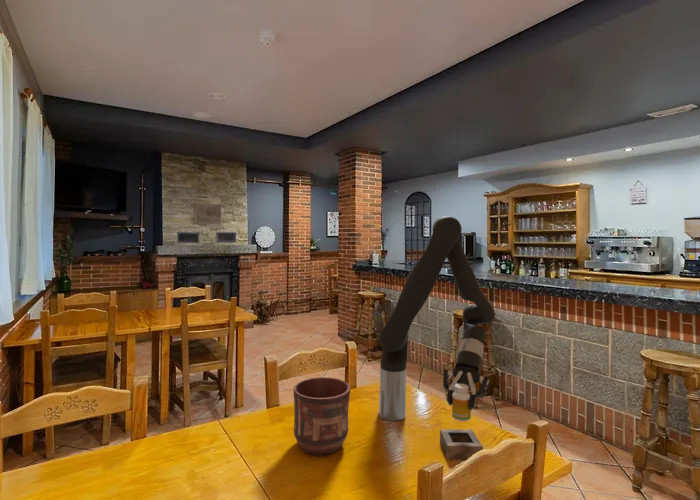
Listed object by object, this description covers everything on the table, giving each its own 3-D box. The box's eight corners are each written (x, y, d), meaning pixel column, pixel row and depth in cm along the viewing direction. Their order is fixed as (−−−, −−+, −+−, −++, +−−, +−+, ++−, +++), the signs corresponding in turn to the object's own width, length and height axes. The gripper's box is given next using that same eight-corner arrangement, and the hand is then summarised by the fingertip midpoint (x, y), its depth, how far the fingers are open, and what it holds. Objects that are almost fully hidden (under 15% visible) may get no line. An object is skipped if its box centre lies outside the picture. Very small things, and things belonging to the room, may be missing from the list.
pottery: (362, 444, 120) (362, 386, 120) (319, 468, 107) (320, 403, 107) (322, 426, 132) (323, 373, 132) (280, 445, 119) (280, 386, 119)
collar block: (447, 459, 112) (447, 445, 112) (439, 441, 122) (440, 429, 122) (482, 460, 112) (482, 446, 112) (471, 442, 122) (472, 429, 122)
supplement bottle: (471, 422, 114) (471, 389, 114) (452, 421, 115) (452, 388, 115) (469, 414, 119) (470, 383, 119) (451, 413, 120) (451, 381, 120)
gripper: (445, 346, 127) (433, 395, 117) (491, 353, 120) (483, 406, 110) (450, 358, 132) (438, 406, 122) (495, 365, 124) (486, 417, 114)
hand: (459, 406), depth 116 cm, fingers closed on supplement bottle, 5 cm apart
